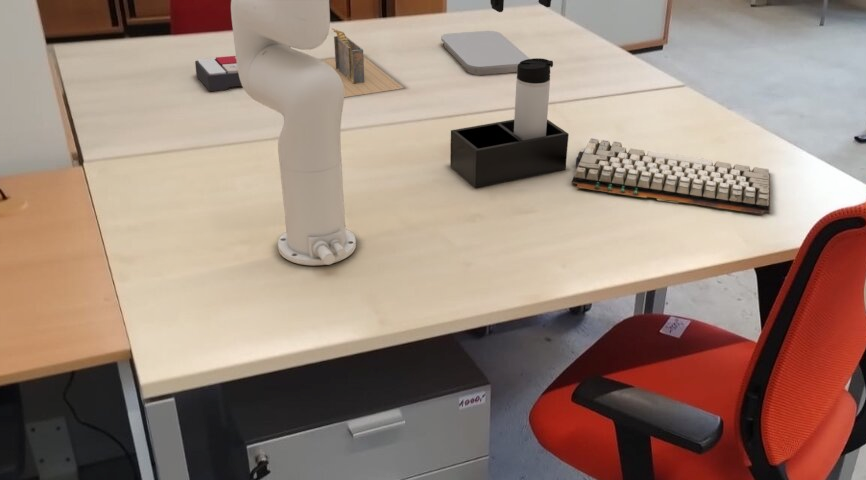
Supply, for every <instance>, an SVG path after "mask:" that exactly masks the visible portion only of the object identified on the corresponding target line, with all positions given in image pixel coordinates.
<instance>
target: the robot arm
mask: <svg viewBox="0 0 866 480" xmlns="http://www.w3.org/2000/svg"><path fill="white" fill-rule="evenodd" d="M489 1H490V5H491V9H492V10H494V11H496V12H498V13H503V11H504V5H505V4H504V3H505V0H489ZM538 4H540V5H541V6H544V7H545V8H550V7H551V5H552V0H538ZM330 11H331V10H330V0H230V17H231V25H232V34H233V44H234V50H235V51H234V52H235V56H236V61H237V68H238V74H239V78H240V82H241V84H242V86H241V87H242V88H243V90H244V92H245V93H246V95H248V96H249V98H251V99H252V100H254V102H257V103H259V104H261V105H262V106H265V107H267V108H269V109H271V110H273V111H275V112H276V113H279V114H281V116H282V117H283V125H282V128H281V131H280V134H279V136H278V141H277V155H278V162H279V171H280V172H279V174H280V182H281V193H282V201H283V202H282V203H283V212H284V222H285V223H284V224H285V232H283V233H282V235H280V236H279V237H278V240H277V250H278V252H279V254H280V255H281V257H282V258H284V259H285V260H286V261H289V262H291V263H295V264H297V265H303V266H315V267H316V266H326V265H327V266H328V265H332V264H335V263H339V262H341V261H343V260H345V259H347V258H348V257H350V256H351V255H352V254H353V253H354V252H355V250H356V247H357V238H356V236H355V234H354V233H353V232H352V231H351V230H349V229H348V228H346V216H345V214H346V213H345V199H344V198H345V196H344V183H343V182H344V178H343V177H344V176H343V163H342V146H341V145H342V144H341V141H342V140H341V128H342V127H341V126H342V125H341V124H342V117H343V111H344V110H343V109H344V104H345V103H344V102H345V97H344V86H343V83H342V80H341V78H340V76H339V75H338V73H337V72H336V71H335V70H334V69H333V68H332V67H331V66H330V65H328V64H327V63H325V62H324V61H322V60H323V59H320V58H318V57H315V56H313V55H310V54H308V53H306V52H303V50H304V51H308V50H309V51H311V50H314V49H316V48H320V46H322V45H323V44H324V43H325V42H326V40H327V38H328V35H329V32H330V27H331V12H330ZM299 50H302V51H299Z"/></svg>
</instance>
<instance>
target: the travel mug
mask: <svg viewBox="0 0 866 480" xmlns="http://www.w3.org/2000/svg"><path fill="white" fill-rule="evenodd" d="M553 66H554V61H553V60H549V59H546V58H540V57H539V58H538V57H537V58H530V59H527V60H523V61H521V62H520V64H518V66H517V72H516V82H515V84H516V85H515V101H514V117H513V120H514V134H515V135H517V136H518V137H519V138H521V139H522V140H528V139H533V138H539V137H544V136H546V128H547V119H548V112H549V101H550V99H549V98H550V86H551V83H550V82H551V68H553Z"/></svg>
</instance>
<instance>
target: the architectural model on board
mask: <svg viewBox="0 0 866 480" xmlns="http://www.w3.org/2000/svg"><path fill="white" fill-rule="evenodd" d="M331 30H332V31H333V33H336V35H334V36H333V41H334V58H329V59H328V58H327V59H321V60H322V61H324V62H325V63H327V64H328V65H330V66H331V67H332V68H333V69H334V70H335V71H336V72H337V73H338V75H339V76H340V78H341V80H342V83H343V86H344V98H347V97H354V96H355V97H356V96H361V95H368V94H374V93H380V92H388V91H395V90H401V89H404V87H403V86H402V85H401V84H399V82H397V81H395V79H393V78H392V77H390V76H389V75H388V74H387V73H385V72H384V71H383V70H381V69H380V68H379V67H377V66H376V65H375V64H374V63H372V62H371V60H369V59H367V57H365V56H364V49H363V48H362V47H360V46H359V45H358V44H356V43H355V42H354V41H353V40H351V39H350V38H349V37H348V36H346V34H345V32H344V31H341V30H338V29H335V28H331Z"/></svg>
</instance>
